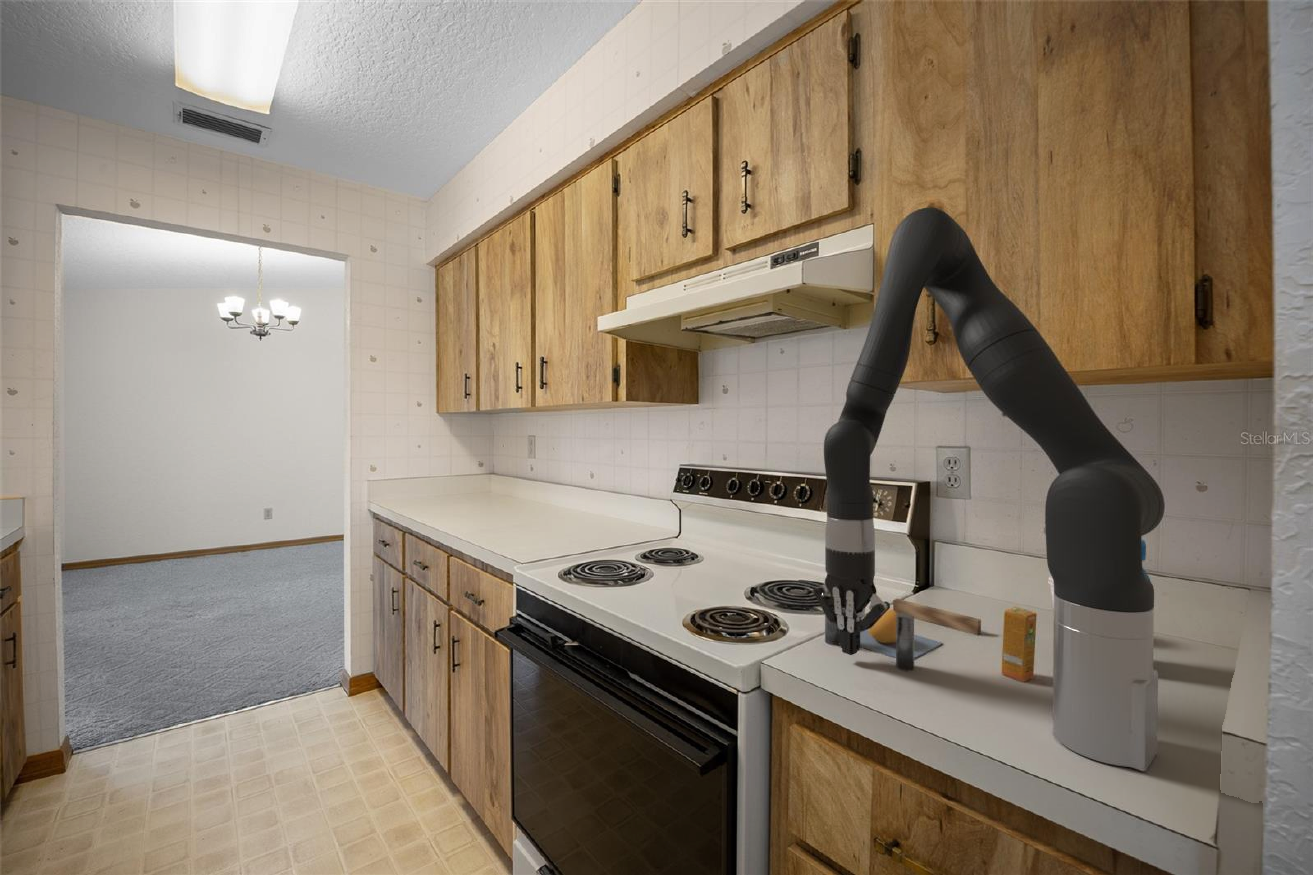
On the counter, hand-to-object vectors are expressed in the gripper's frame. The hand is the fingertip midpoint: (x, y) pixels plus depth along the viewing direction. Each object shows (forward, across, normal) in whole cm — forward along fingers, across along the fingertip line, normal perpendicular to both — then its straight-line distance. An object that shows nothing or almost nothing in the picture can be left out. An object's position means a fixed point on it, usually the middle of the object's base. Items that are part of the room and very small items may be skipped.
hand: (849, 652), depth 90 cm
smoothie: (+2, -18, -42) cm, 46 cm away
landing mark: (+2, 0, -13) cm, 13 cm away
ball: (-2, +1, -12) cm, 12 cm away
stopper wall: (+2, 0, -29) cm, 29 cm away
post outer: (+2, +6, -5) cm, 8 cm away
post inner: (+2, -6, -5) cm, 8 cm away
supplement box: (+2, -19, -15) cm, 24 cm away
